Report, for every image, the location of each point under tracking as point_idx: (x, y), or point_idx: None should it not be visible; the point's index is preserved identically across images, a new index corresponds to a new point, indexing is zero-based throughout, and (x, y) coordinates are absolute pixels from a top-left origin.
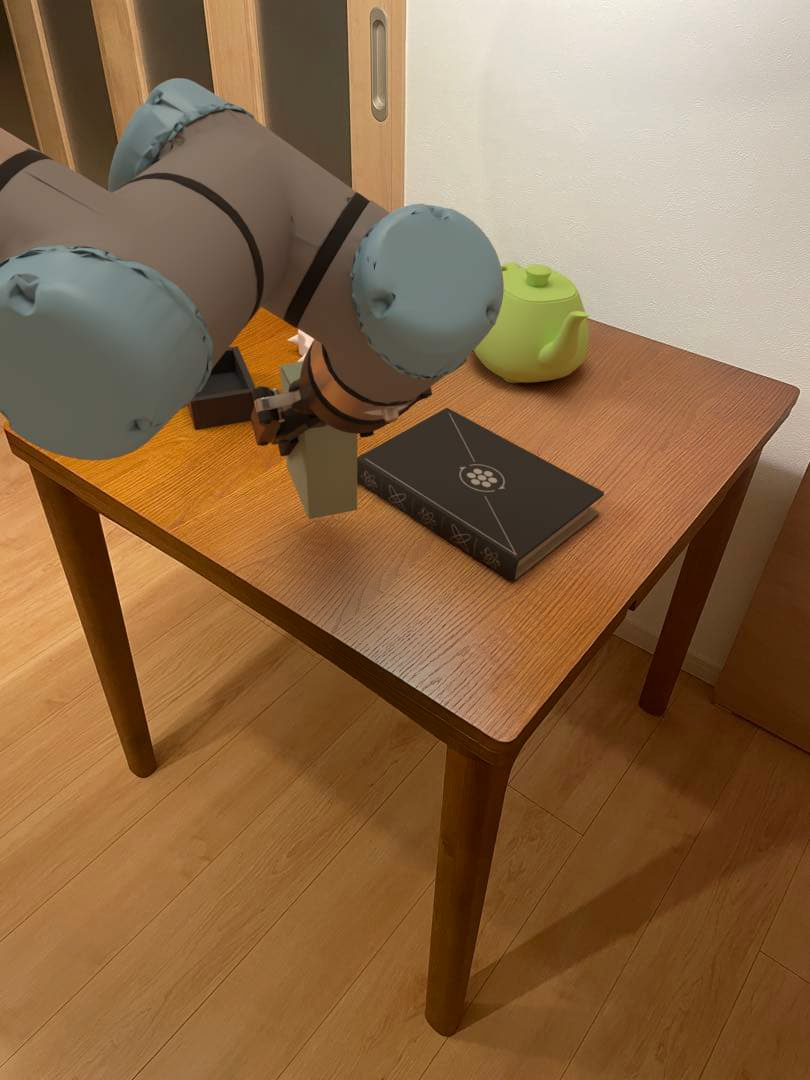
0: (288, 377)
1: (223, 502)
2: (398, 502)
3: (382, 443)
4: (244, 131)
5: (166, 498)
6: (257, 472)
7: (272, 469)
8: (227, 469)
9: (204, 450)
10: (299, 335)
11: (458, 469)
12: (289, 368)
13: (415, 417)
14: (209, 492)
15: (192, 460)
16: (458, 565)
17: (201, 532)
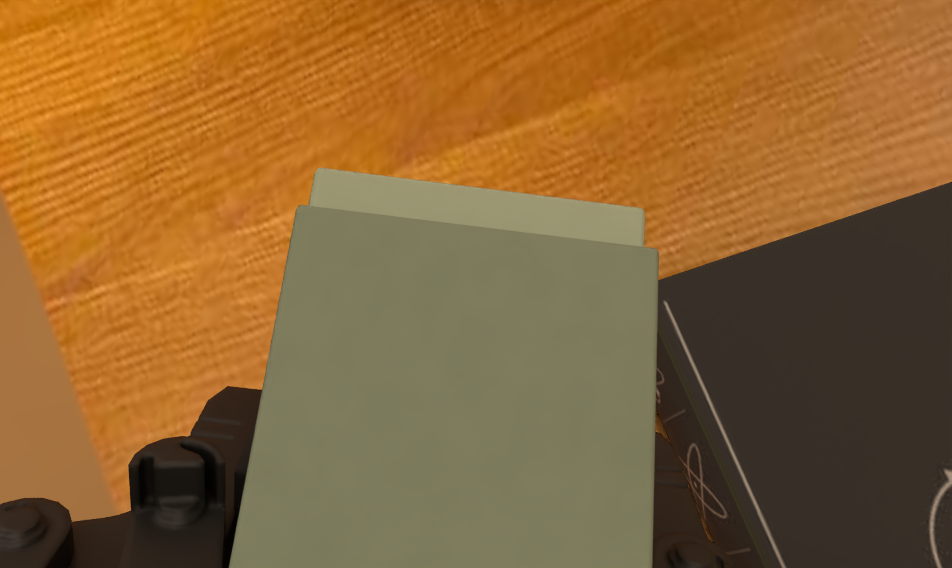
0: (271, 380)
1: (226, 250)
2: (696, 494)
3: (743, 253)
4: None
5: (89, 171)
6: (365, 167)
7: (410, 172)
8: (293, 123)
9: (267, 25)
10: None
11: (938, 478)
12: (329, 270)
13: (879, 120)
14: (207, 194)
15: (220, 51)
16: None
17: (115, 348)
